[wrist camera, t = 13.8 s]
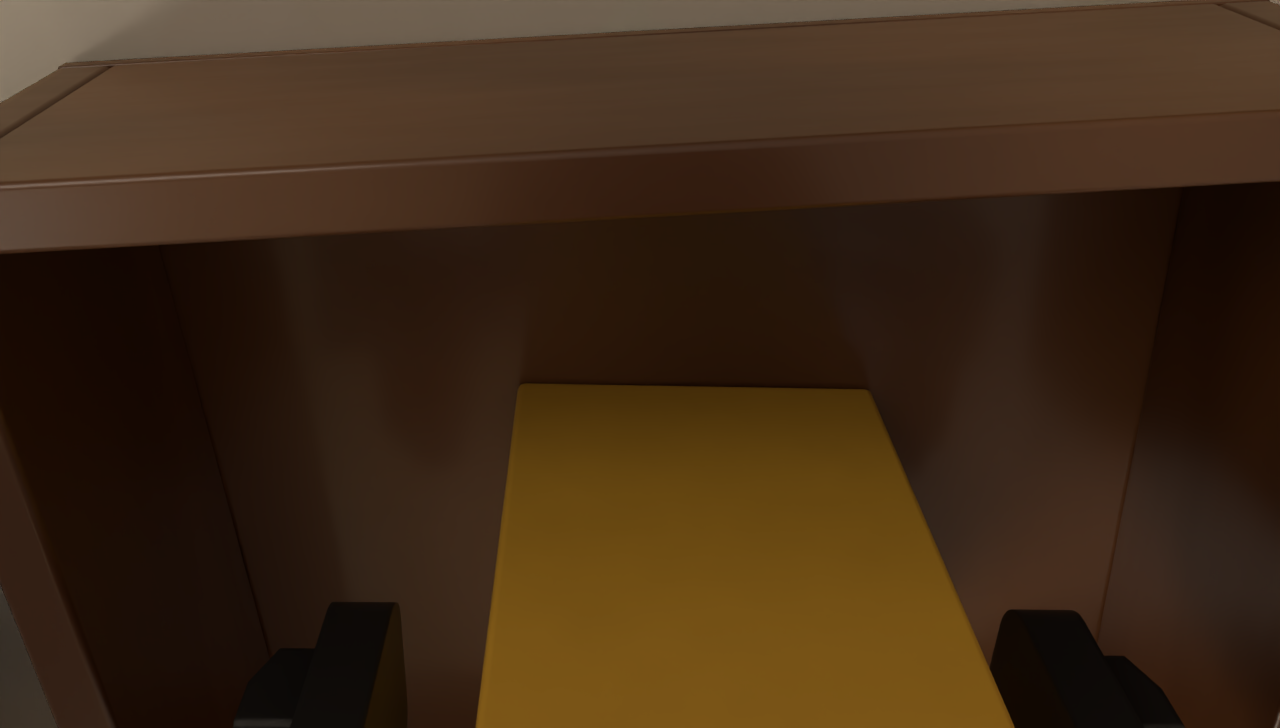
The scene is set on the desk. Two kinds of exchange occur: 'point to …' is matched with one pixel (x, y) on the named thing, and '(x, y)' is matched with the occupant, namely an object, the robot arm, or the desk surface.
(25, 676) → the desk surface
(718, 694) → the mustard box
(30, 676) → the desk surface
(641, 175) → the back tray
